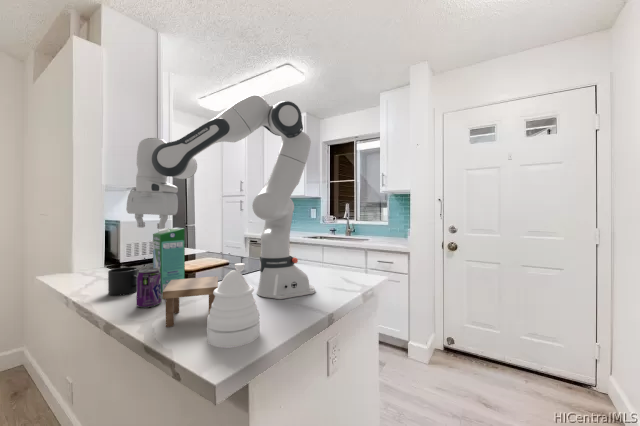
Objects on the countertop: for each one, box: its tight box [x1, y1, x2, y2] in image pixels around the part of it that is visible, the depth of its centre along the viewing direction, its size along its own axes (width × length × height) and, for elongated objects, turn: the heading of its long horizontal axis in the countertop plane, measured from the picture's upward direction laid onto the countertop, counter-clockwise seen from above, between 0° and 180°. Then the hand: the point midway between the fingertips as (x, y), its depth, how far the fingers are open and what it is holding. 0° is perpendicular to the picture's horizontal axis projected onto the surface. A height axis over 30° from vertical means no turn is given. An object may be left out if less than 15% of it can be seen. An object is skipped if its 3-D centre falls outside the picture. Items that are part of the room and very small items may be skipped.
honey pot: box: [206, 262, 261, 349], centre depth 72 cm, size 13×13×18 cm
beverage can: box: [136, 267, 162, 309], centre depth 95 cm, size 7×7×12 cm
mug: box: [107, 266, 139, 297], centre depth 110 cm, size 9×12×9 cm
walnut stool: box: [162, 276, 219, 328], centre depth 85 cm, size 14×14×10 cm
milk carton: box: [152, 227, 186, 294], centre depth 115 cm, size 9×9×25 cm
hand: (150, 228), depth 95 cm, fingers open, 8 cm apart
